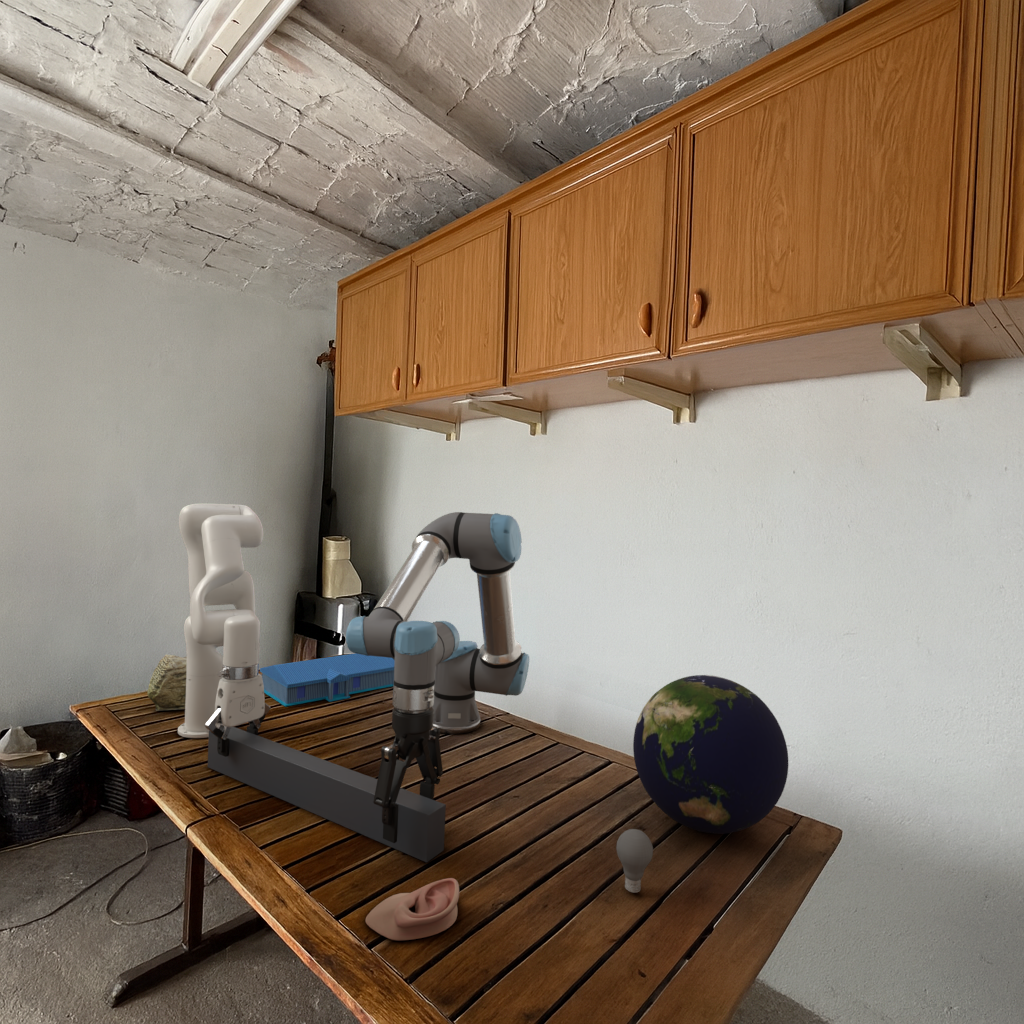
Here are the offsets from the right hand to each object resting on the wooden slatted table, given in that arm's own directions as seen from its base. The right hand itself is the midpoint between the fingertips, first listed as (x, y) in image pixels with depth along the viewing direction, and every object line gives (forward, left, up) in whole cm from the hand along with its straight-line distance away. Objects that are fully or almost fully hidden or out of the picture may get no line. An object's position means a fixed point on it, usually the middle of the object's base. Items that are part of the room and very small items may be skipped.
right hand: (408, 828), depth 117 cm
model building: (-97, -23, -3) cm, 100 cm away
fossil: (-81, -64, -3) cm, 103 cm away
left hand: (-34, -38, +2) cm, 51 cm away
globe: (-2, +60, -3) cm, 60 cm away
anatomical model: (+20, 0, -3) cm, 21 cm away
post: (-18, -19, -3) cm, 26 cm away
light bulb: (+18, +37, -3) cm, 41 cm away
